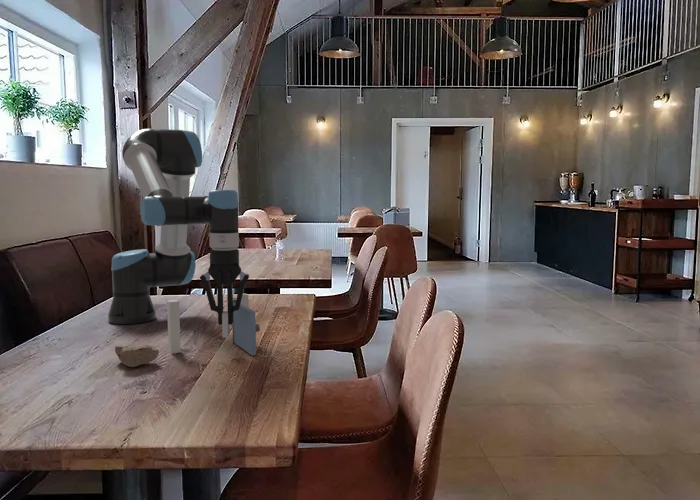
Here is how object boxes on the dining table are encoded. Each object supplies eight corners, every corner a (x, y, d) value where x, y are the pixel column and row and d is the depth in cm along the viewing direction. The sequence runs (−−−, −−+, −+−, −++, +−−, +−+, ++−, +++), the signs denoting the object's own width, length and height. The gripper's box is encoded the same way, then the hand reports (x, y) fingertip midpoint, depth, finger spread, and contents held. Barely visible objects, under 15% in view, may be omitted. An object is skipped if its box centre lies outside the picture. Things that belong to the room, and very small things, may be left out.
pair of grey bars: (168, 351, 157) (166, 300, 156) (245, 340, 168) (244, 293, 167) (171, 353, 154) (169, 302, 153) (249, 342, 166) (248, 294, 164)
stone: (124, 371, 138) (121, 351, 138) (116, 362, 148) (112, 343, 148) (162, 361, 143) (159, 342, 142) (151, 353, 153) (148, 335, 152)
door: (251, 357, 151) (250, 309, 150) (232, 342, 165) (231, 299, 164) (261, 355, 153) (261, 308, 152) (242, 341, 167) (241, 298, 166)
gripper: (196, 250, 147) (198, 340, 150) (248, 250, 148) (249, 339, 151) (201, 247, 154) (203, 333, 157) (250, 246, 156) (251, 332, 158)
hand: (225, 336), depth 154 cm, fingers closed
